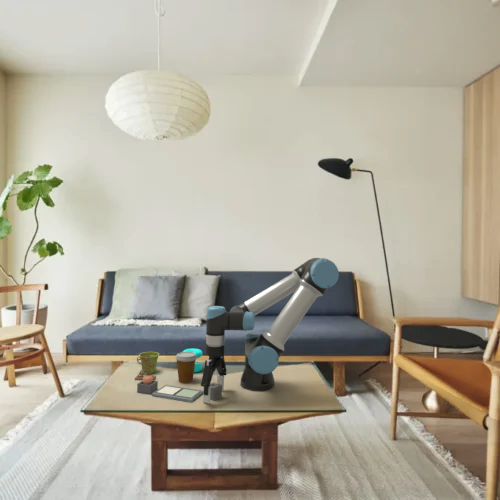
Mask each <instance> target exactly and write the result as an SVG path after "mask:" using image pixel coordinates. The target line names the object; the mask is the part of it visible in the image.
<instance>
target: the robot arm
mask: <svg viewBox="0 0 500 500" xmlns="http://www.w3.org/2000/svg"><path fill="white" fill-rule="evenodd" d="M339 274H340V273H339V269H338V266H337V264H335V262H334V261H332V260H330V259H329V258H325V257H324V258H323V257H322V258H320V257H313V258H310V259H307V260H306V261H305V262H303V263H302V264H300V265H298V266H297V267H296V268H294V269H293V270H292V272H291V274H289V275H288V276H285V277H284V278H282V279H281V280H278V281H277V282H275V283H274V284H272V285H271V286H268V287H267V288H265V289H264V290H262V291H260V292H259V293H257V294H255V295H254V296H251V298H249V299H247V300H245V301H244V302H242V303H240V304H238V305H235V306H233V307H231V309H230V310H229V311H227V310H226V307H224V306H221V305H212V306H209V307H207V308H206V325H205V326H206V333H205V334H206V335H205V341H206V342H205V343H206V345H205V354H206V356H208V359H205V360H204V369H203V373H202V376H201V381H200V382H201V383H200V387H203V389H202V390H203V394H202V396H203V397H202V403H203V404H208V405H210V404H211V400H210V394H211V386H210V383H212V379H213V376H214V372H215V371H216V372H217V380H216V381H217V382H216V383H217V384H220V385H222V393H223V392H224V391H225V389H224V388H225V376H227V367H226V362H225V361H226V360H225V344H226V343H225V342H226V341H225V340H226V339H225V338H226V331H244V332H246V331H253V330H254V329H255V323H256V322H255V316H257V315H258V314H260V313H262V312H263V311H265V310H266V309H268V308H270V307H272V306H273V305H275V304H276V303H278V302H280V301H282V300H284V299H285V298H287V297H288V296H290V295H291V294H292V296H291V297H290V299H289V300H288V302H287V303H286V305H285V306H284V307H282V309H281V311H280V313H279V314H278V315H277V317H276V318H275V320H274V321H273V322H272V324H271V325H270V326H269V328H268V329H267V331H266V332H265V331H264V332H250V333H249V332H248V333H246V334H245V339H244V342H245V343H244V345H245V346H244V369H243V370H242V374H241V377H240V386H241V387H242V388H244V389H246V390H249V391H268V390H271V389H273V388H274V387H275V377H274V375H273V372H274V371H275V369H277V367H278V365H279V361H280V357H281V356H282V354H283V353H284V351H285V344H286V342H287V340H289V338H290V337H291V335H292V334H293V332H294V330H295V329H296V328H297V327H298V325H299V324H300V322H301V321H302V320H303V318H304V317H305V316H306V314H307V312H308V311H309V309H310V308H311V306H312V305H313V303H314V302H315V301H316V300H317V299H318V297H322V296H324V295H325V293H326V292H327V291H328V289H329V288H332V287H333V286H334V285H336V283H337V282H338V280H339V276H340V275H339ZM272 387H273V388H272ZM270 388H271V389H270ZM267 389H268V390H267Z"/></svg>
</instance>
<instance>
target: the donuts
mask: <svg viewBox="0 0 500 500" xmlns="http://www.w3.org/2000/svg"><path fill="white" fill-rule="evenodd" d="M182 352H193V353H195V354H196V356H197V358H196V360H198V359H199V358H202V356H203V354H204V353H203V351H202V350H201V349H199V348H193V347H192V348H186V349H184V350H182ZM202 370H203V365H202V364H201V362H197V361H195V368H194V374H197V373H199V372H201V371H202Z"/></svg>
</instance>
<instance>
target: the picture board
mask: <svg viewBox="0 0 500 500" xmlns="http://www.w3.org/2000/svg"><path fill="white" fill-rule="evenodd" d="M151 396H152V397H155V398H160V399H167V400H173V401H181V402H186V403H193V402H194V401H196V400H197V399H199V397H200V396H203V389H197V388H190V387H184V386H183V387H182V386H176V385H169V384H165V385H163V386H162V387H160V388H159V389H157V390H155V391H154V392H152V393H151Z"/></svg>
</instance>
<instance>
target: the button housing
mask: <svg viewBox="0 0 500 500" xmlns="http://www.w3.org/2000/svg"><path fill="white" fill-rule="evenodd" d="M158 384H159V382H158V380H153V383H152V384H150V385H146V384H143V381H142V380H140V382H137V385H136V386H137V387H136V392H137V393H141V394H145V395H146V394H148V395H152V393H154V392H155V391H157V390H158V387H159V385H158Z"/></svg>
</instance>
